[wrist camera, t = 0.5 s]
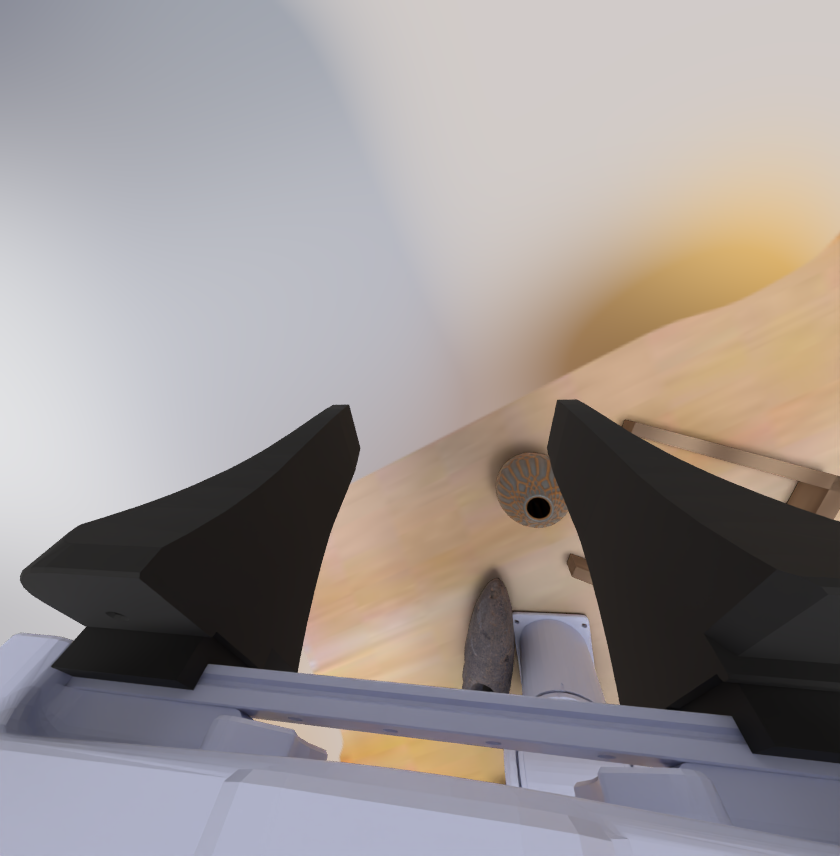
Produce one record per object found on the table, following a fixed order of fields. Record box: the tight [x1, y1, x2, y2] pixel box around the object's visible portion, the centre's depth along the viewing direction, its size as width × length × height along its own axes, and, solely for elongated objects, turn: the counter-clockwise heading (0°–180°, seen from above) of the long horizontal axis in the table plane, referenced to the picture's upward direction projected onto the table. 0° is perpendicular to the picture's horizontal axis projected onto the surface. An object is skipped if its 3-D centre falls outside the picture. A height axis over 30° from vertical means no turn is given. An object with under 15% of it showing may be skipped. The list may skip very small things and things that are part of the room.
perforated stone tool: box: [462, 578, 514, 694], centre depth 32 cm, size 15×5×7 cm, turn 173°
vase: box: [496, 453, 568, 528], centre depth 28 cm, size 7×7×9 cm
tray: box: [567, 420, 840, 585], centre depth 28 cm, size 16×16×2 cm
